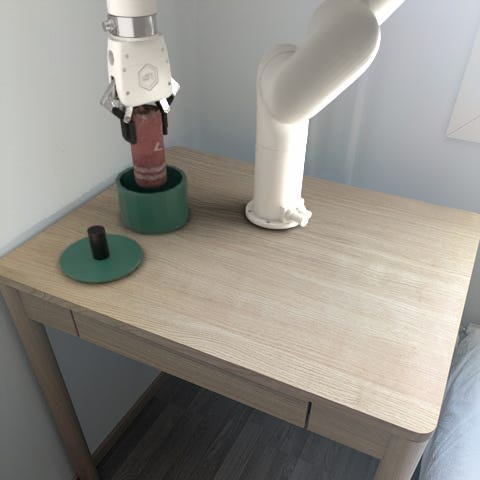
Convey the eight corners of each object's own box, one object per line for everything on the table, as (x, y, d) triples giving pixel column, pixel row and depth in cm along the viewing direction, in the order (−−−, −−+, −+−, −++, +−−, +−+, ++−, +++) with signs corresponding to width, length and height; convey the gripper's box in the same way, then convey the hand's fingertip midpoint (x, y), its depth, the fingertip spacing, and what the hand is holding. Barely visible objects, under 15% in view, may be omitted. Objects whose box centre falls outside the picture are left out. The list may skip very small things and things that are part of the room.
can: (155, 171, 100) (147, 99, 90) (173, 183, 96) (167, 109, 87) (129, 180, 97) (118, 106, 87) (146, 192, 93) (137, 117, 84)
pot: (201, 219, 101) (200, 180, 96) (145, 242, 95) (140, 202, 89) (164, 194, 109) (160, 157, 103) (109, 214, 102) (102, 175, 96)
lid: (158, 263, 89) (154, 232, 85) (84, 296, 82) (76, 264, 78) (117, 230, 98) (111, 200, 93) (47, 257, 90) (37, 226, 86)
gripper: (96, 38, 72) (115, 156, 84) (191, 23, 81) (196, 132, 93) (72, 28, 76) (93, 142, 88) (165, 15, 85) (173, 120, 97)
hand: (146, 136), depth 90 cm, fingers closed on can, 6 cm apart
